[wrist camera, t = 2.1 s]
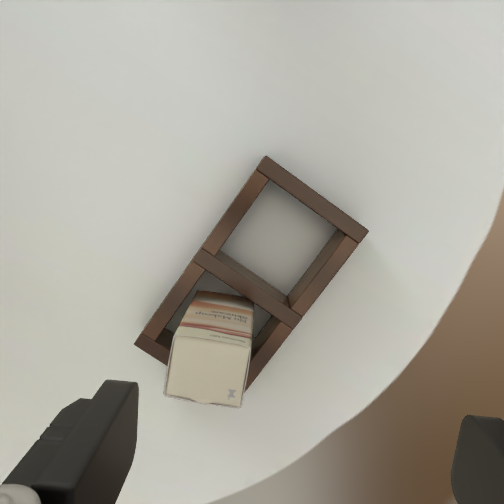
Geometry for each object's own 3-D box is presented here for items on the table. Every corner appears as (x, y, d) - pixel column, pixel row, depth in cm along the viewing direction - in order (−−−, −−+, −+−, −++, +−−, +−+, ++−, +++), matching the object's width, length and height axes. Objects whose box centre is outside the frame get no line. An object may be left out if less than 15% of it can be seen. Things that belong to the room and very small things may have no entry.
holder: (234, 388, 38) (232, 408, 35) (143, 329, 37) (133, 344, 33) (358, 225, 35) (369, 231, 32) (264, 156, 34) (265, 155, 31)
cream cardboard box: (255, 297, 36) (256, 347, 26) (246, 345, 37) (244, 412, 27) (193, 286, 36) (171, 333, 26) (186, 335, 37) (161, 398, 27)
